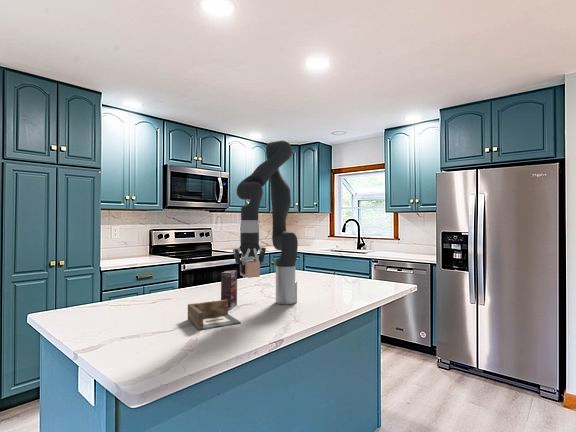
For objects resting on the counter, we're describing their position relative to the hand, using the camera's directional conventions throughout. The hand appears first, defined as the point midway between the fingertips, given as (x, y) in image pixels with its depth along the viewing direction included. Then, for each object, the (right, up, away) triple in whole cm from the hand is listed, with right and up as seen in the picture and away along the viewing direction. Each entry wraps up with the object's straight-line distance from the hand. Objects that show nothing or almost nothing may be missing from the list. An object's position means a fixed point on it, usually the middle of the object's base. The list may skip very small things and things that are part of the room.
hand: (249, 273), depth 144 cm
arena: (-13, -17, -7) cm, 23 cm away
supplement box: (-11, -18, +15) cm, 25 cm away
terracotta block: (0, -1, 0) cm, 1 cm away
